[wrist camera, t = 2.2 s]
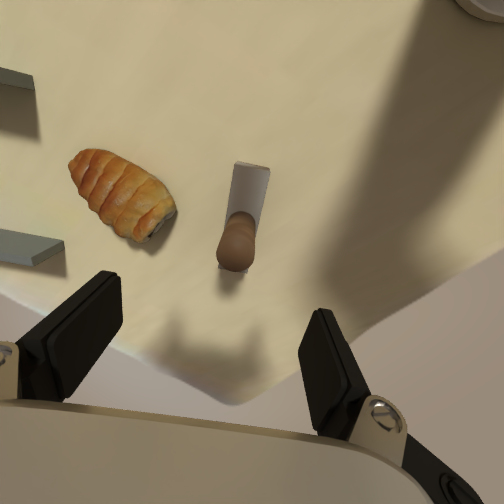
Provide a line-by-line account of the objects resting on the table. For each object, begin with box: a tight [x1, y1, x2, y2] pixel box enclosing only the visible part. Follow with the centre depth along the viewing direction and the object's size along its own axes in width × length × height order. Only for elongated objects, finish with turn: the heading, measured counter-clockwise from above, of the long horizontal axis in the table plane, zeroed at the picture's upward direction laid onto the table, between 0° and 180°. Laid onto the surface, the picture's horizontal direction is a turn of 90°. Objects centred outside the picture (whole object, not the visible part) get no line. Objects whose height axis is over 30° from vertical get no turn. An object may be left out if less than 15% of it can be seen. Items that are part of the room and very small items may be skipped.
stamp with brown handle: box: [216, 161, 270, 273], centre depth 20 cm, size 3×10×9 cm, turn 168°
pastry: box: [68, 149, 176, 243], centre depth 21 cm, size 9×7×4 cm
